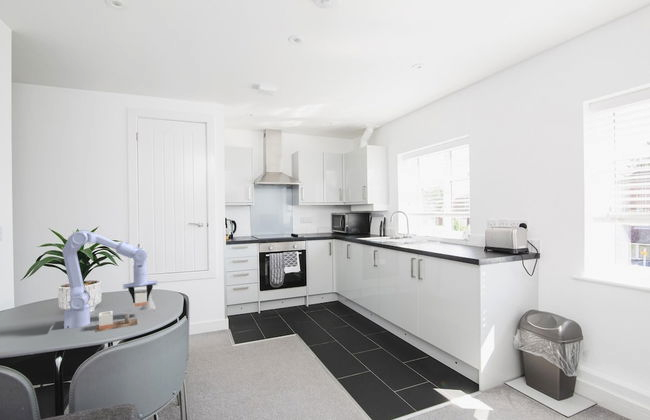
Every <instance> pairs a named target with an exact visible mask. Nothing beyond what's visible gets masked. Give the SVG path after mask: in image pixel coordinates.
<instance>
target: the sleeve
mask: <svg viewBox="0 0 650 420" xmlns="http://www.w3.org/2000/svg"><path fill="white" fill-rule="evenodd" d="M146 291H147V289H146V290H145V289H144V290H140V291H134V296H135V303H134V307H142V306H143V305H147V292H146Z"/></svg>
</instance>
